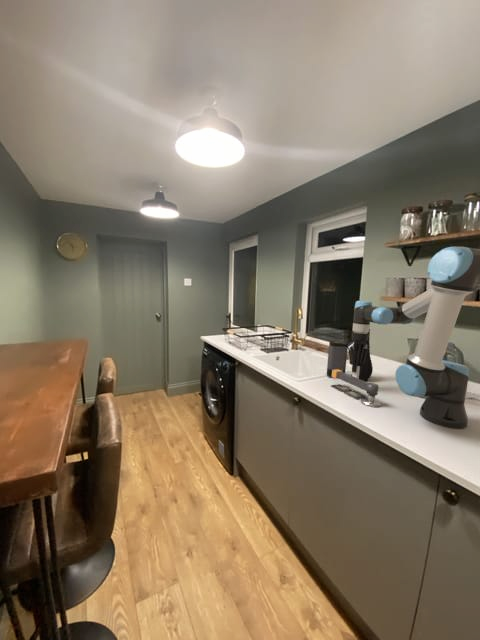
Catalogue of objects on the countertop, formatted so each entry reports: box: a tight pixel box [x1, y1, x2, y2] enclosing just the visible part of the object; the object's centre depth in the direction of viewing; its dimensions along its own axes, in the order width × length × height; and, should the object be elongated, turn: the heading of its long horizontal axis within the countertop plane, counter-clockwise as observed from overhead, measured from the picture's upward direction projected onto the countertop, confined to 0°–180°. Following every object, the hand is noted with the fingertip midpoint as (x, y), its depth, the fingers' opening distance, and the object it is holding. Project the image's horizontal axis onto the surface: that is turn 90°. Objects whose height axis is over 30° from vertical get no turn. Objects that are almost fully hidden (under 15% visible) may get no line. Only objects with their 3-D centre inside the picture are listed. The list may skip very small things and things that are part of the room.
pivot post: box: [360, 394, 382, 408], centre depth 119 cm, size 8×8×4 cm
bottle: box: [351, 328, 374, 382], centre depth 152 cm, size 11×11×30 cm
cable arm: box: [332, 369, 379, 396], centre depth 128 cm, size 25×4×4 cm, turn 23°
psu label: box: [330, 383, 353, 393], centre depth 136 cm, size 8×6×1 cm
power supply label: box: [343, 390, 368, 400], centre depth 128 cm, size 8×6×1 cm
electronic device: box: [326, 340, 349, 379], centre depth 154 cm, size 9×6×20 cm, turn 84°
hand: (355, 378), depth 138 cm, fingers closed
